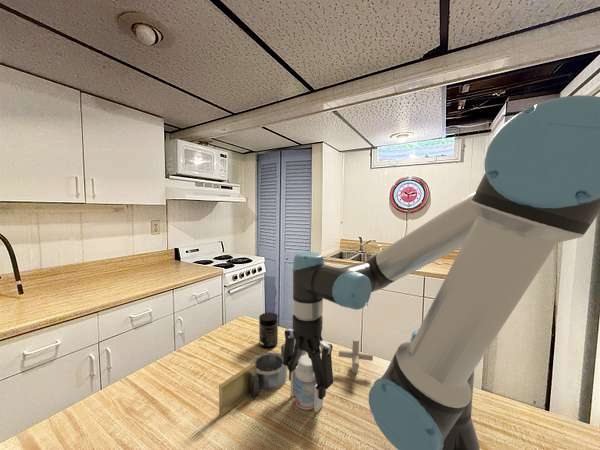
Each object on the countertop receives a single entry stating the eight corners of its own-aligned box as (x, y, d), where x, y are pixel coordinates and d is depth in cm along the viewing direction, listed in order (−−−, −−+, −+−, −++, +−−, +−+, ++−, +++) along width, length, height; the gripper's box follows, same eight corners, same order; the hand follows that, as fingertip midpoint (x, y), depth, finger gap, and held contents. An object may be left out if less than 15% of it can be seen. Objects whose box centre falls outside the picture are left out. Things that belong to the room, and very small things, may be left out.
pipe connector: (373, 385, 70) (374, 351, 69) (337, 379, 72) (338, 346, 71) (370, 363, 80) (371, 333, 79) (339, 359, 82) (340, 329, 81)
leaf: (256, 388, 68) (256, 364, 67) (222, 415, 59) (222, 387, 59) (253, 386, 69) (253, 362, 68) (219, 413, 60) (218, 385, 59)
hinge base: (316, 357, 82) (316, 337, 82) (259, 403, 63) (259, 377, 63) (293, 346, 89) (293, 327, 88) (234, 384, 70) (234, 360, 69)
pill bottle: (293, 393, 67) (294, 353, 66) (316, 392, 67) (317, 352, 66) (295, 412, 61) (296, 368, 60) (320, 410, 61) (321, 367, 60)
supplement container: (281, 343, 91) (281, 316, 90) (267, 352, 86) (267, 322, 85) (269, 337, 95) (269, 311, 94) (255, 344, 90) (255, 316, 89)
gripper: (350, 321, 59) (347, 412, 61) (288, 300, 71) (287, 375, 73) (333, 333, 53) (331, 433, 55) (269, 308, 66) (268, 390, 67)
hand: (306, 400), depth 64 cm, fingers open, 7 cm apart
